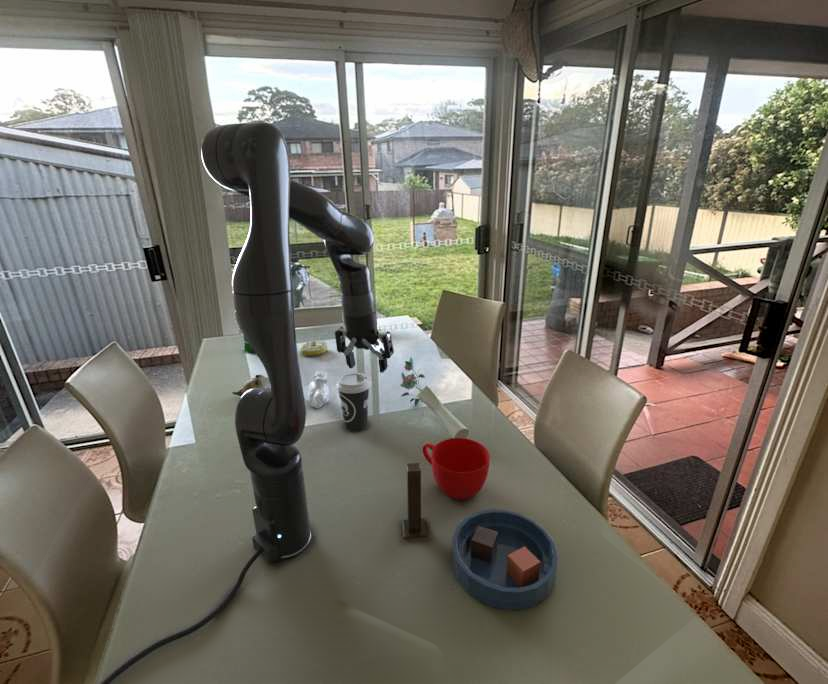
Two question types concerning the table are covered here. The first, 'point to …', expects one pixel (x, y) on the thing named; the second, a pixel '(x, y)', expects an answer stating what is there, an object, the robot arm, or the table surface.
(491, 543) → the walnut block
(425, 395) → the flower vase
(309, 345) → the decorated donut
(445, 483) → the ceramic cup
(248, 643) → the table surface
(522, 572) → the terracotta block
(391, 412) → the table surface
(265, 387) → the ceramic sculpture
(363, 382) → the coffee cup
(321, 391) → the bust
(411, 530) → the wooden post with base
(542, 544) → the bowl
